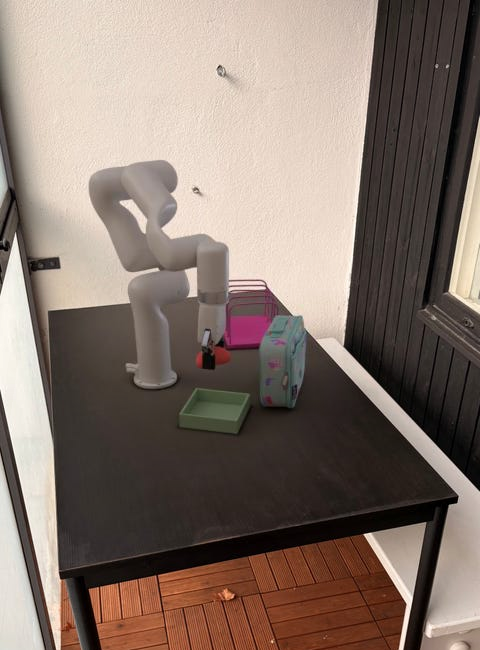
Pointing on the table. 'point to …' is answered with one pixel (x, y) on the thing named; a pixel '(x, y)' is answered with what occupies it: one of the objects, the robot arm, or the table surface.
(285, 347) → the lunch box
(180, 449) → the table surface
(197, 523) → the table surface
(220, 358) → the red oval piece
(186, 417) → the tote
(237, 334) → the file sorter
